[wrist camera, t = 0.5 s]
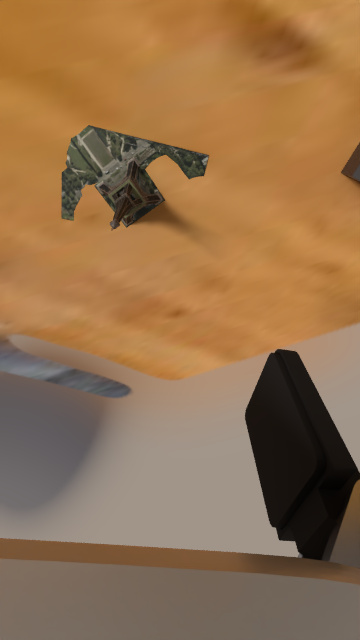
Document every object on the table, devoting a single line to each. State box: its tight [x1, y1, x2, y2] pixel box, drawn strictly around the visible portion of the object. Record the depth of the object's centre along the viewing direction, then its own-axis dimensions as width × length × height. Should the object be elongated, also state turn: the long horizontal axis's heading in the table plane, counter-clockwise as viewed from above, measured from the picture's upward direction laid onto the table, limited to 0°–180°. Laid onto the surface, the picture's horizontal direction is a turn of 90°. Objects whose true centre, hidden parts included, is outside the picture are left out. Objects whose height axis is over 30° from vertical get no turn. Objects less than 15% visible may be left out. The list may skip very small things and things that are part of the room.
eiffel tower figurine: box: [62, 125, 209, 230], centre depth 29 cm, size 15×10×13 cm
